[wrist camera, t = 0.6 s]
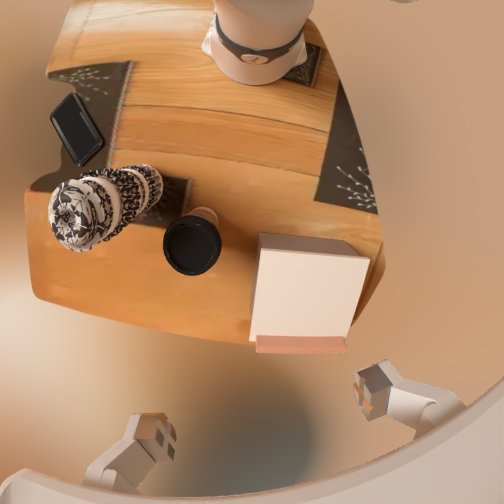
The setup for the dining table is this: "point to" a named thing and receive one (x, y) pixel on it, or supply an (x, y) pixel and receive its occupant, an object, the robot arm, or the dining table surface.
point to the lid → (305, 301)
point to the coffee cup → (193, 242)
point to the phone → (76, 129)
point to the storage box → (297, 249)
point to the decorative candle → (101, 204)
